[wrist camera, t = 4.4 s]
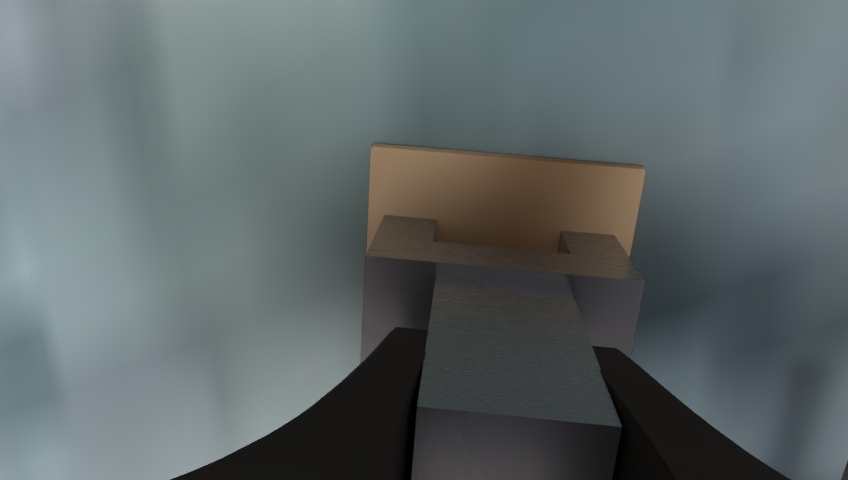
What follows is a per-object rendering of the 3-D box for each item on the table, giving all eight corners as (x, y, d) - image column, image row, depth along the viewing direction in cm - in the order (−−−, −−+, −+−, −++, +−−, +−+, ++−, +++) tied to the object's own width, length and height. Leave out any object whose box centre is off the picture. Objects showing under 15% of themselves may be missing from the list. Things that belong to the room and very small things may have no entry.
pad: (642, 165, 15) (645, 169, 14) (598, 397, 17) (601, 406, 16) (373, 143, 15) (371, 146, 14) (363, 374, 17) (360, 382, 16)
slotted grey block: (594, 354, 16) (689, 613, 9) (378, 333, 16) (305, 570, 9) (614, 235, 15) (740, 420, 8) (384, 214, 15) (308, 377, 8)
